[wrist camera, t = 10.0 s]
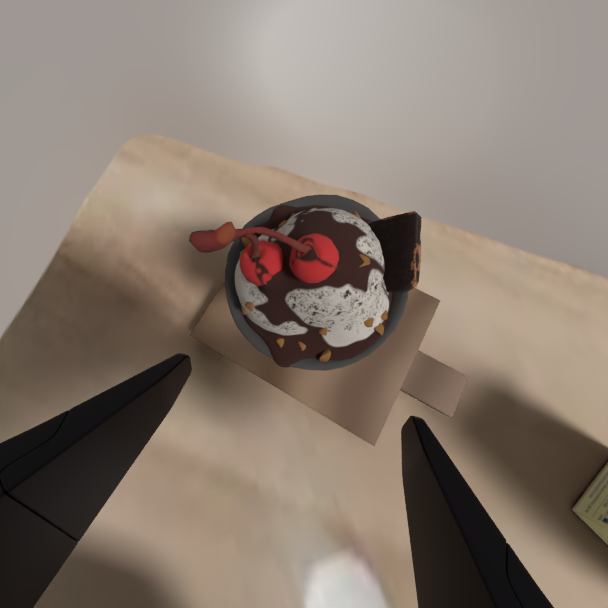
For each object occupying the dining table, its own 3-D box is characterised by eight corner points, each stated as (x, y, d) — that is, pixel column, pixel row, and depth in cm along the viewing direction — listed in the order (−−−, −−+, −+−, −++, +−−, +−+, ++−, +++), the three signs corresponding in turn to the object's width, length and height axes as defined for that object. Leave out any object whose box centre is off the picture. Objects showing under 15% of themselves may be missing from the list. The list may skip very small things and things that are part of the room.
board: (475, 327, 19) (489, 325, 18) (417, 467, 17) (427, 478, 16) (270, 224, 22) (267, 215, 20) (198, 336, 20) (189, 335, 18)
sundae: (255, 337, 18) (7, 272, 3) (293, 264, 19) (239, -28, 4) (332, 376, 17) (467, 519, 2) (367, 297, 18) (598, 78, 4)
